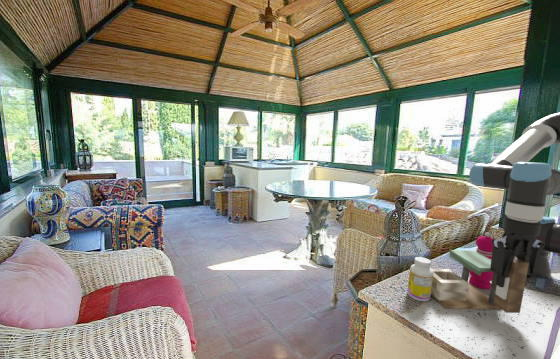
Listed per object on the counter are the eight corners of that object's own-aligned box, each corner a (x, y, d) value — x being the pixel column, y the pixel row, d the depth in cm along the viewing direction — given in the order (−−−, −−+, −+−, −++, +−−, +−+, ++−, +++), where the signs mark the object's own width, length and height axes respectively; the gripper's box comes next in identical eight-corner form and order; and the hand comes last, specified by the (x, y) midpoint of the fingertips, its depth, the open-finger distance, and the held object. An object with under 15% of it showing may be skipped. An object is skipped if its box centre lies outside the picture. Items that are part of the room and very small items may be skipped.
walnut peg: (506, 303, 75) (515, 256, 73) (519, 312, 71) (528, 263, 69) (493, 303, 75) (501, 256, 73) (506, 312, 71) (515, 262, 69)
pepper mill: (497, 291, 89) (506, 237, 86) (473, 288, 90) (482, 234, 87) (484, 281, 96) (493, 230, 93) (463, 278, 97) (471, 228, 94)
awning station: (467, 284, 93) (473, 250, 91) (502, 309, 79) (509, 269, 77) (417, 283, 92) (421, 248, 90) (443, 308, 78) (449, 268, 76)
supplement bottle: (409, 288, 88) (414, 253, 86) (431, 296, 84) (436, 259, 82) (404, 296, 83) (409, 259, 81) (427, 305, 79) (433, 266, 77)
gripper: (537, 214, 73) (523, 289, 77) (481, 214, 73) (469, 289, 76) (567, 223, 66) (551, 304, 69) (505, 222, 65) (491, 304, 69)
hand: (508, 296), depth 73 cm, fingers closed on walnut peg, 4 cm apart
